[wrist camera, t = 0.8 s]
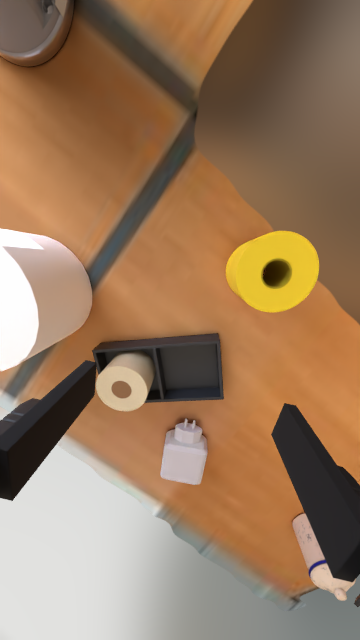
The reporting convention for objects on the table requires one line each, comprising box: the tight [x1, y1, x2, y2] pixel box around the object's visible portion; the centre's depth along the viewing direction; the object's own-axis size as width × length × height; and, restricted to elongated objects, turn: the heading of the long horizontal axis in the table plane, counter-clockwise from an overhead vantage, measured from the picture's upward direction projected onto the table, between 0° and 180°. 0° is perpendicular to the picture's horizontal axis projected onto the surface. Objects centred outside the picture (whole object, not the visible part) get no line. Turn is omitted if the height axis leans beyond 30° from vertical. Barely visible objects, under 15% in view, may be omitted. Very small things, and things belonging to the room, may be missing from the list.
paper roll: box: [96, 350, 156, 411], centre depth 37 cm, size 9×9×7 cm
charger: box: [160, 419, 208, 485], centre depth 43 cm, size 5×9×15 cm
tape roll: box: [226, 231, 319, 312], centre depth 29 cm, size 10×10×9 cm
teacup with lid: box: [293, 513, 356, 601], centre depth 44 cm, size 12×9×12 cm
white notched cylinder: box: [0, 229, 92, 371], centre depth 32 cm, size 20×20×13 cm
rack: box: [92, 333, 224, 403], centre depth 39 cm, size 12×24×4 cm, turn 97°
